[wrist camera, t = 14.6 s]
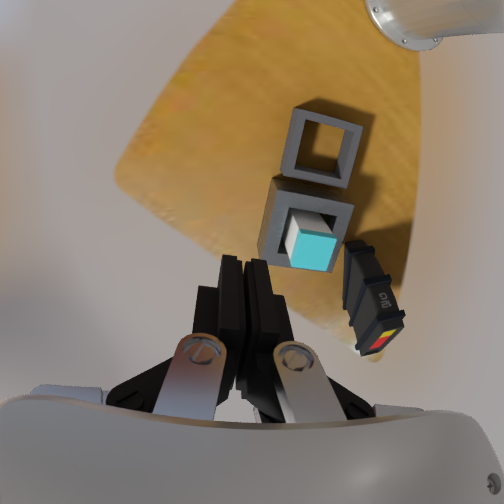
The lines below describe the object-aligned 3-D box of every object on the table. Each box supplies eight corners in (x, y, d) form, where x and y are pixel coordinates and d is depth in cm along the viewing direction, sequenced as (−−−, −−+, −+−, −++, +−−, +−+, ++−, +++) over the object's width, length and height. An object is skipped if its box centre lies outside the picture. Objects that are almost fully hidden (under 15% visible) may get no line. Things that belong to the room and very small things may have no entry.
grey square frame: (293, 107, 33) (298, 108, 30) (354, 123, 34) (363, 126, 31) (279, 169, 37) (283, 175, 34) (338, 181, 38) (346, 188, 35)
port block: (271, 177, 37) (277, 189, 33) (341, 191, 38) (354, 205, 34) (257, 244, 42) (260, 263, 37) (321, 253, 43) (331, 272, 39)
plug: (286, 203, 39) (301, 233, 31) (316, 208, 39) (337, 238, 32) (279, 231, 41) (291, 266, 33) (308, 235, 41) (325, 271, 34)
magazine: (370, 223, 39) (408, 324, 30) (353, 272, 50) (377, 355, 41) (345, 226, 39) (380, 331, 31) (333, 276, 50) (354, 360, 41)
